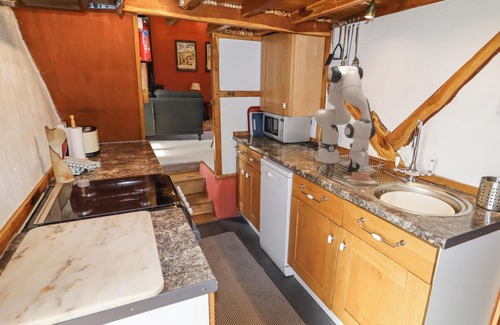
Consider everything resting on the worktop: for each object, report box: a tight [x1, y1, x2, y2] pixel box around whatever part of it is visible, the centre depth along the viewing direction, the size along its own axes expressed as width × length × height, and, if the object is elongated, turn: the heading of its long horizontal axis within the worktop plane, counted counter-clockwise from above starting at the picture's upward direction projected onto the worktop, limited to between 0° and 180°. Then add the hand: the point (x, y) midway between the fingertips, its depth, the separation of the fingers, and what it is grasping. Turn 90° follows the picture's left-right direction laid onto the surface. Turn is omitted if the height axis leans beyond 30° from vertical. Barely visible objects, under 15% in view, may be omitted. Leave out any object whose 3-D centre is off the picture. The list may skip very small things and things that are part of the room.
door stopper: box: [347, 158, 364, 173], centre depth 187 cm, size 9×6×12 cm, turn 128°
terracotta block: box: [351, 171, 370, 181], centre depth 168 cm, size 4×4×9 cm
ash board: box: [342, 174, 379, 187], centre depth 169 cm, size 15×16×1 cm
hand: (356, 169), depth 167 cm, fingers open, 8 cm apart
